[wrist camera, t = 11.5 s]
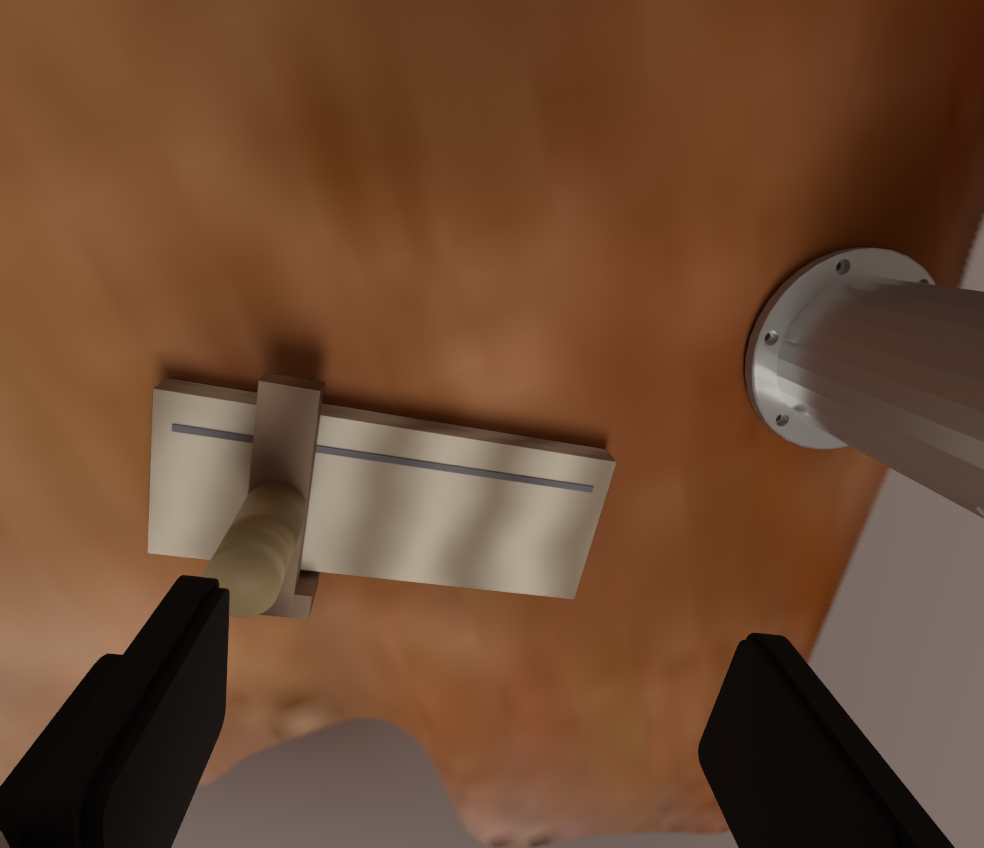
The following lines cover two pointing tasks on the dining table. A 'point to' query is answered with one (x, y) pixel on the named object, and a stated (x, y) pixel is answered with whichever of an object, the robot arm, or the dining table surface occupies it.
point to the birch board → (385, 494)
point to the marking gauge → (274, 506)
